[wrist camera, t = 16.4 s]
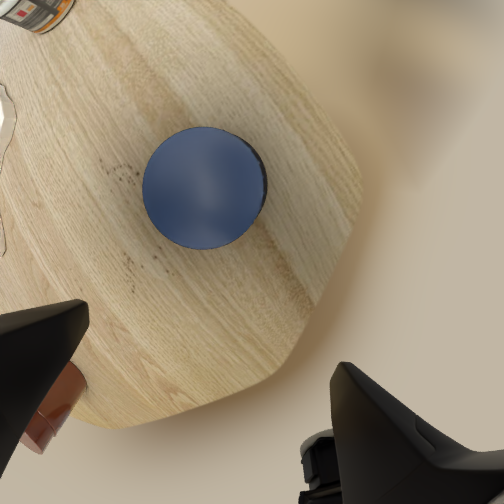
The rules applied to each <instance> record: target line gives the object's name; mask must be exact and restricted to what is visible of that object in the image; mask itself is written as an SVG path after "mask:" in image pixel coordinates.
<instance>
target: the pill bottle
mask: <svg viewBox="0 0 504 504" xmlns="http://www.w3.org/2000/svg"><path fill="white" fill-rule="evenodd" d="M73 2H74V0H0V19H3V20H5V21H8V22H10V23H13V24H15V25H18V26H20V27H22V28H25V29H27V30H29V31H32V32H34V33H38V34H39V33H44V32H46V31H48V30H50V29H51V28H53V27H54V26H55V25H56V24H57V23H58V22H60V21H61V20H62V18H63V17H64V16H65V15H66V14H67V12H68V11H69V9H70V8H71V6H72V4H73Z"/></svg>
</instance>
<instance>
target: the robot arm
mask: <svg viewBox="0 0 504 504" xmlns="http://www.w3.org/2000/svg"><path fill="white" fill-rule="evenodd" d="M88 327H89V307H88V303H87V302H85V301H83V300H80V299H74V300H70V301H65V302H60V303H55V304H50V305H45V306H41V307H36V308H31V309H26V310H21V311H16V312H11V313H6V314H1V315H0V478H1V476H2V474H3V472H4V470H5V468H6V466H7V464H8V462H9V460H10V458H11V456H12V454H13V452H14V450H15V448H16V446H17V444H18V443H19V440H20V439H21V437H22V435H23V433H24V431H25V430H26V428H27V426H28V424H29V423H30V421H31V419H32V418H33V416H34V414H35V413H36V411H37V409H38V408H39V406H40V404H41V403H42V401H43V400H44V398H45V396H46V395H47V393H48V392H49V390H50V389H51V387H52V386H53V384H54V382H55V381H56V379H57V378H58V376H59V375H60V373H61V372H62V371H63V369H64V368H65V366H66V365H67V363H68V362H69V360H70V359H71V357H72V356H73V354H74V352H75V350H76V348H77V347H78V345H79V343H80V341H81V339H82V338H83V336H84V334H85V332H86V331H87V329H88ZM330 400H331V419H332V426H333V433H334V437H319V438H317V440H316V441H315V442H314V444H313V445H312V446H311V448H310V449H309V450H308V451H307V453H306V454H305V455H304V457H303V458H302V460H301V464H303V470H304V478H305V483H309V488H310V490H309V491H301V492H300V496H299V501H298V503H299V504H504V450H497V451H488V452H477V451H472V450H470V449H468V448H466V447H464V446H463V445H461V444H459V443H458V442H456V441H454V440H453V439H451V438H450V437H448V436H446V435H445V434H443V433H442V432H440V431H439V430H437V429H436V428H434V427H433V426H431V425H430V424H429V423H427V422H426V421H424V420H423V419H422V418H421V417H419V416H418V415H416V414H415V413H414V412H413V411H412V410H410V409H409V408H408V407H406V406H405V405H404V404H403V403H401V402H400V401H399V400H397V399H396V398H395V397H394V396H392V395H391V394H390V393H388V392H387V391H386V390H385V389H383V388H382V387H381V386H380V385H378V384H377V383H376V382H375V381H373V380H372V379H371V378H370V377H368V376H367V375H366V374H365V373H363V372H362V371H361V370H360V369H358V368H357V367H356V366H355V365H354V364H352V363H350V362H340V363H339V364H338V365H337V368H336V370H335V372H334V374H333V376H332V377H331V380H330Z"/></svg>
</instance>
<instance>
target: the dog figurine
mask: <svg viewBox="0 0 504 504" xmlns="http://www.w3.org/2000/svg"><path fill="white" fill-rule="evenodd" d="M16 120H17V118H16V113H15V108H14V103H13V102H12V101H11V100H10V99H9V97H8V96H7V95H6V91H5V87H4V86H2V85H1V84H0V172H1V166H2V161H3V156H4V152H5V150H6V148H7V146H8V144H9V143H10V141H11V139H12V135H13V131H14V127H15V123H16ZM5 250H6V247H5V239H4V230H3V226H2V222H1V217H0V258H1V257H2V255H3V254H4V252H5Z"/></svg>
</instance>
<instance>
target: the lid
mask: <svg viewBox="0 0 504 504" xmlns="http://www.w3.org/2000/svg"><path fill="white" fill-rule="evenodd" d="M259 164H260V162H259V161H257V159H256V157H255V155H254V154H253V152H252V150H251V148H250V147H248V146H247V145H246V144H245V143H244V142H243V141H241V140H240V138H239V137H238V136H237V137H236V136H234V135H233V134H231V133H229V132H226V131H225V130H221V129H217V128H212V127H195V128H189V129H186V130H183V131H181V132H178V133H176V134H174V135H173V136H171V137H169V138H168V139H167V140H165V141H164V142H163V143H162V144H161V145H160V146H159V147H158V148H157V149H156V151H155V152H154V153H153V155H152V156H151V158H150V160H149V162H148V164H147V167H146V169H145V173H144V177H143V185H142V193H143V201H144V205H145V208H146V211H147V213H148V216H149V218H150V219H151V221H152V223H153V224H154V225H155V227H156V228H157V229H158V230H159V231H160V232H161V233H162V234H163V235H164V236H165V237H166V238H168V239H169V240H171V241H173V242H174V243H176V244H178V245H181V246H184V247H187V248H191V249H200V250H206V249H214V248H218V247H221V246H224V245H227V244H229V243H231V242H233V241H234V240H236V239H237V238H239V237H240V236H241V235H243V233H244V232H246V231H247V229H248V228H249V227H250V226H251V225H252V224H253V222H254V220H255V218H256V216H257V214H258V212H259V210H261V204H262V199H263V194H265V192H264V190H263V189H264V185H263V178H264V176H262V172H261V168H260V166H259Z"/></svg>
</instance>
